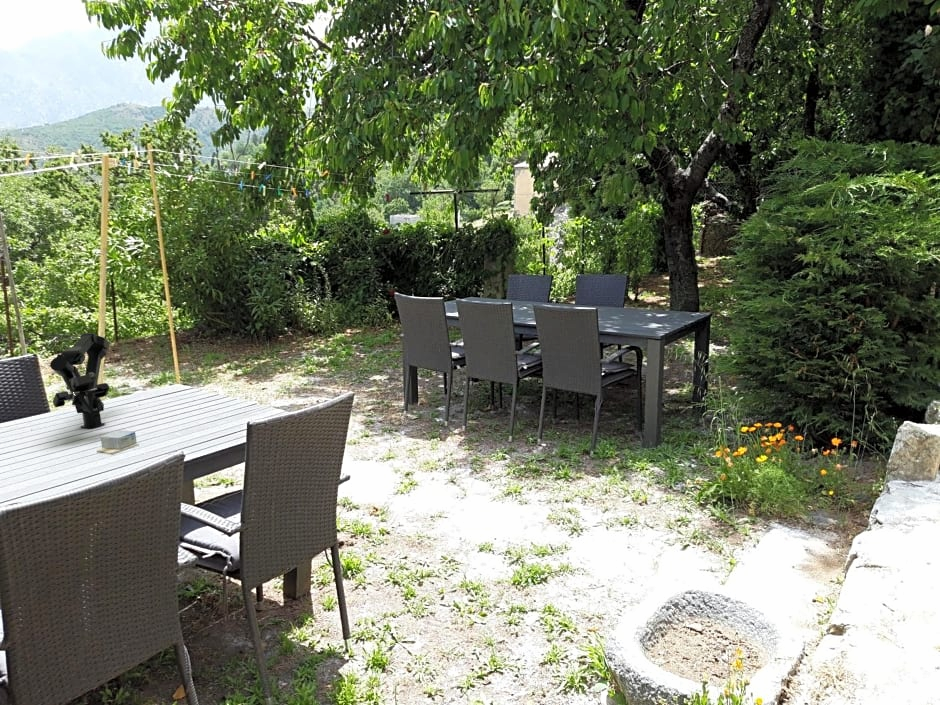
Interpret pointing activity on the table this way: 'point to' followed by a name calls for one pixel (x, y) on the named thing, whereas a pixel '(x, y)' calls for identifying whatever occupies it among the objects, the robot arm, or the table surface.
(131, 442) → the medicine box
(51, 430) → the table surface
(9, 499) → the table surface
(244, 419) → the table surface
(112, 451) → the pad
